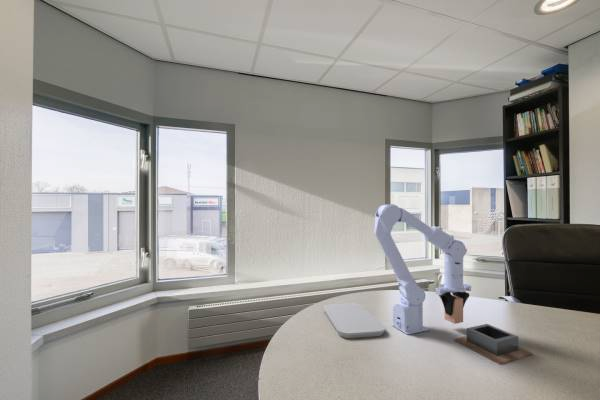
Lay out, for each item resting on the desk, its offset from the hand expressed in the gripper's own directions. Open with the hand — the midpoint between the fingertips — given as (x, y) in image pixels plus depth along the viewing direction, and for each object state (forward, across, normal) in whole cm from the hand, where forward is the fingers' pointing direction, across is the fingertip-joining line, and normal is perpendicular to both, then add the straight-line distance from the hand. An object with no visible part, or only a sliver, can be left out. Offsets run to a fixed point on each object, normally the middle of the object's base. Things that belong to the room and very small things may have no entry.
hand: (453, 313), depth 95 cm
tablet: (+6, -30, +18) cm, 35 cm away
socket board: (+5, 0, -13) cm, 14 cm away
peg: (+2, 0, 0) cm, 2 cm away
